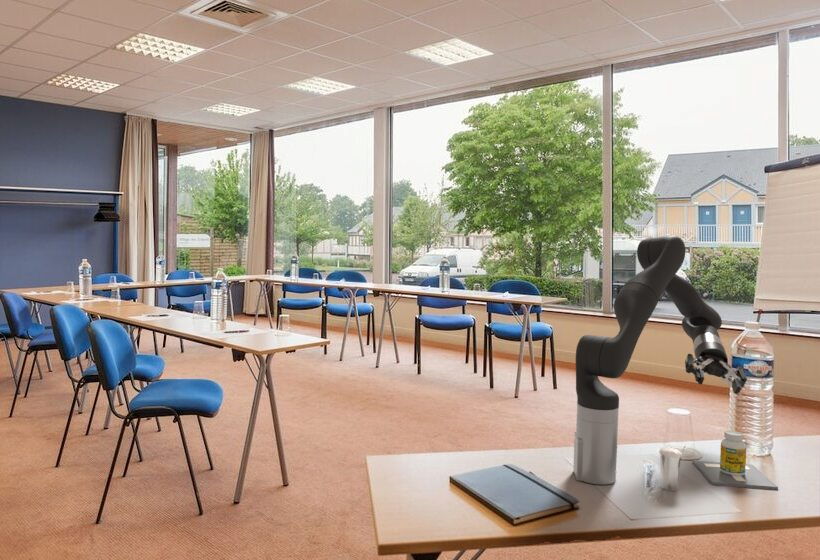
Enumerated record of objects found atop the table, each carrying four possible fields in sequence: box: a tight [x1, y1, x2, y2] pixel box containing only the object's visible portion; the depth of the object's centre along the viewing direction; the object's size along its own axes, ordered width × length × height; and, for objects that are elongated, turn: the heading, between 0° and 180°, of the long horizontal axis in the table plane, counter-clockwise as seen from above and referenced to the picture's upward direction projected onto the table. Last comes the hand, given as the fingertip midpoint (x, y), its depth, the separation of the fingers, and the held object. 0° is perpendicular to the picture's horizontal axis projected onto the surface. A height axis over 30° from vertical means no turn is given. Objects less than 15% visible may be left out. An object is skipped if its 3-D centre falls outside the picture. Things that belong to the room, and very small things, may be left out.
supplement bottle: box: [719, 429, 747, 476], centre depth 142 cm, size 5×5×10 cm
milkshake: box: [658, 445, 686, 492], centre depth 133 cm, size 4×5×10 cm
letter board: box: [692, 459, 779, 491], centre depth 142 cm, size 14×14×1 cm
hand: (719, 386), depth 149 cm, fingers open, 8 cm apart
